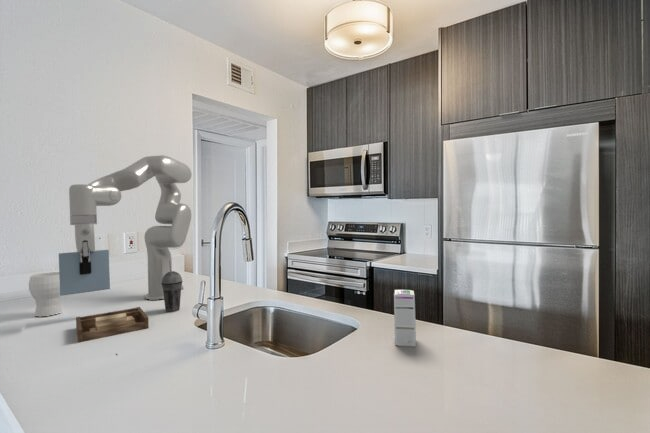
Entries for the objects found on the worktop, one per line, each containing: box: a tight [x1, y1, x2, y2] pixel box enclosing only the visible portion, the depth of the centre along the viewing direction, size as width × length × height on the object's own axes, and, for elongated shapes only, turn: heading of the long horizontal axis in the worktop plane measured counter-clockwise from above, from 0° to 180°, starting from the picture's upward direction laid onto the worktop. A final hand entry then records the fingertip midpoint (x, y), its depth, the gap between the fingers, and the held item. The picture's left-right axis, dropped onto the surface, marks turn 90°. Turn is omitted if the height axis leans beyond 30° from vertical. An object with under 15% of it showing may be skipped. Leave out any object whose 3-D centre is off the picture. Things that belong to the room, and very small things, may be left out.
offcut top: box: [96, 313, 127, 326], centre depth 104 cm, size 8×4×2 cm, turn 124°
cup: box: [28, 271, 62, 317], centre depth 126 cm, size 11×11×15 cm
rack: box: [75, 306, 150, 343], centre depth 107 cm, size 18×15×4 cm
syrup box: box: [393, 289, 417, 348], centre depth 95 cm, size 6×6×14 cm
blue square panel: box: [58, 249, 111, 297], centre depth 116 cm, size 14×2×14 cm, turn 128°
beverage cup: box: [161, 260, 183, 313], centre depth 125 cm, size 7×7×20 cm
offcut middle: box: [95, 316, 135, 331], centre depth 105 cm, size 10×4×2 cm, turn 131°
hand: (85, 273), depth 116 cm, fingers closed on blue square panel, 2 cm apart
